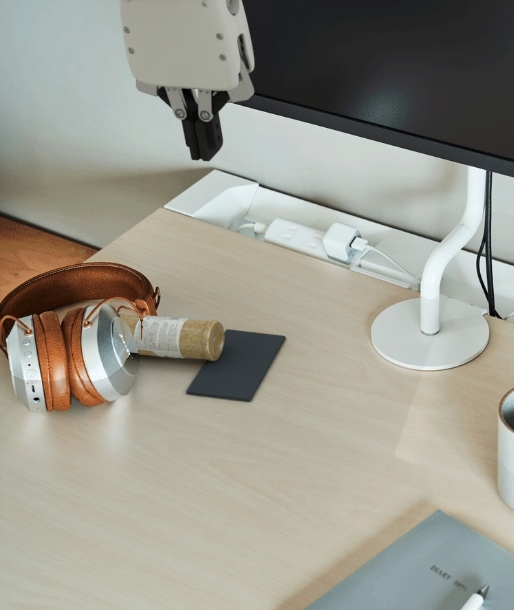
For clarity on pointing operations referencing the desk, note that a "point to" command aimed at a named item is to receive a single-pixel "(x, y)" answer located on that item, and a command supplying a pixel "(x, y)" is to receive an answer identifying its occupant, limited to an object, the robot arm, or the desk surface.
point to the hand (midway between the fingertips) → (206, 154)
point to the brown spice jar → (177, 337)
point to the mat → (237, 366)
